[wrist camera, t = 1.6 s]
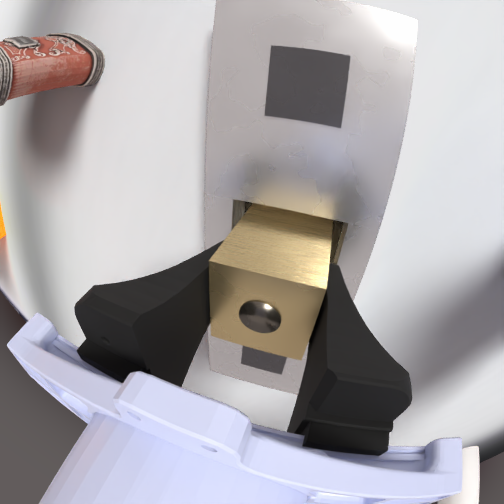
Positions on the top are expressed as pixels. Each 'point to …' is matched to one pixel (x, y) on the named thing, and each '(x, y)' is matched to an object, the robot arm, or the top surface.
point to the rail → (304, 133)
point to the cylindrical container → (467, 479)
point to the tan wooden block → (270, 280)
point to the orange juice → (2, 225)
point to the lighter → (47, 64)
